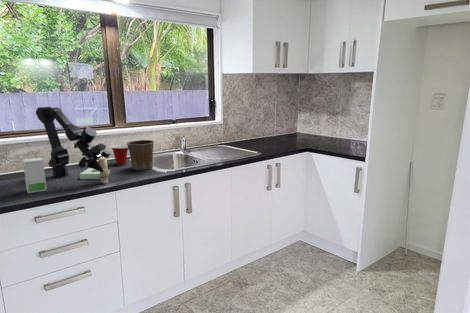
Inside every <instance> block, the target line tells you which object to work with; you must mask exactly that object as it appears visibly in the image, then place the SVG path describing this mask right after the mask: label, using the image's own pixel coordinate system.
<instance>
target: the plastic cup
mask: <svg viewBox="0 0 470 313" xmlns="http://www.w3.org/2000/svg"><path fill="white" fill-rule="evenodd" d="M111 149H112V153H113V157H114V160H115V162H116V166H122V165H124V166H125V165H126V164H127V158H128V152H129V150H128V146H127V144H126V145H123V144H118V145H116V144H114V145H111Z"/></svg>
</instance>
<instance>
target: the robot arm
mask: <svg viewBox="0 0 470 313" xmlns="http://www.w3.org/2000/svg"><path fill="white" fill-rule="evenodd" d="M35 115H36V116H37V119H38V120H39V121H40V122H41V123H42V124H43V126H44V129H45V132H46V135H47V138H48V140H49V144H50V147H51V152H50V160H49V161H48V162H47V163H48V166H49V168H51V169H52V176H51V178H65V177H66V176H69V172H68V167H67V165H69V163H70V161H69V160H70V153H69V150H68V149H67V148H64V147H63V146H62V143H61V140H60V138H59V134H58V131H57V127H56V125H55V120H56V122H57V123H59V125H60V126H61V128H62V129H63V130H64V131H65V136H66V138H67V139H68V141H69V142H73V148H74V149H77V148H78V149H79V151H80V152H81V155H82V158H81V159H80V160H79V162H78V167H80V168H81V169H83V168H85V167H86V168H92V169H95V170H98V171H100V172H103V169H102V168H101V167H100V165H99V160H98V159H99V158H107V159H108V158H109V157H110V156H111V155H112V153H111V151H110V150H106V148H107V145H106V143H104V142H103V141H102V142H100V143H98V144H96V145H92V142H93V141H94V140H95V138H96V136H97V134H98V132H97V131H96V130H95V129H93V128H91V127H89V126H85V127H84V128H83V129H81V128H80V127H79V126H77V125H74V124H73V123H72V122H71V120H70V119H69V118H68V117H67V115H65V114H64V112H63V111H62V109H61V108H60V107H51V106H41V107H38V108H36V111H35ZM104 150H105V151H104ZM86 165H87V166H86ZM107 167H108V170H109V169H110V167H109V165H108V163H107Z"/></svg>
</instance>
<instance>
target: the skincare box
mask: <svg viewBox="0 0 470 313" xmlns="http://www.w3.org/2000/svg"><path fill="white" fill-rule="evenodd" d="M22 163H23V164H22V165H23V170H24V171H23V172H24V178H25V180H24V182H25V187H26V188H25V189H26V191H27V193H28V194H31V193H39V192H45V191H48V190H47V179H46V172H45V165H44V159H43V158H42V157H38V158H36V157H35V158H26V159H25V158H24V159H22Z"/></svg>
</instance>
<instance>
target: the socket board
mask: <svg viewBox="0 0 470 313" xmlns="http://www.w3.org/2000/svg"><path fill="white" fill-rule="evenodd" d="M110 174H111V171H110V168H109V170H108V175H110ZM79 180H101V178H100V171H98V170H95V169H92V168H89V167H87V169H85V170H84V171H82V172H80V173H79Z"/></svg>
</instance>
